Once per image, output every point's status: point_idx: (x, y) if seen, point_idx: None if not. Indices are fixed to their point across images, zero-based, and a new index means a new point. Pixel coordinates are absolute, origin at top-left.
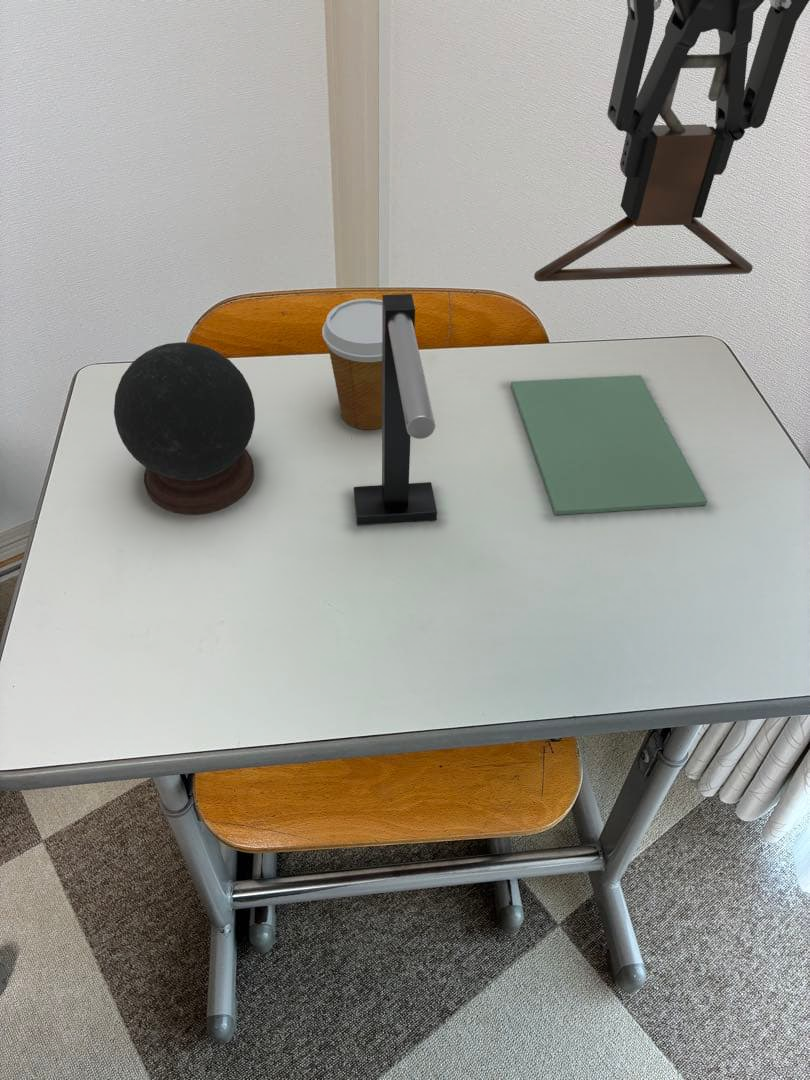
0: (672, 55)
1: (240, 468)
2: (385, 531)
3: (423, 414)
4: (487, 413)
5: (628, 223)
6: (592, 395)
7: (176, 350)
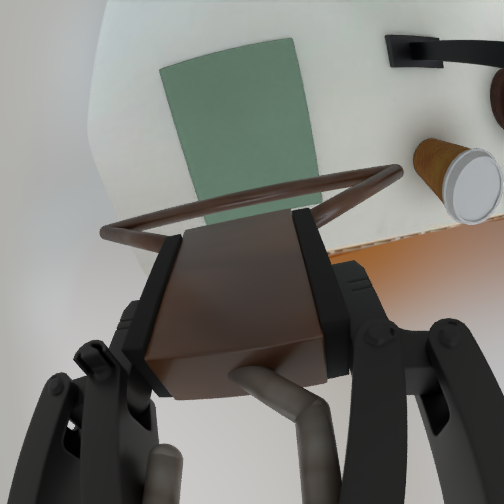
0: None
1: (501, 93)
2: (417, 30)
3: None
4: (343, 161)
5: None
6: None
7: None
